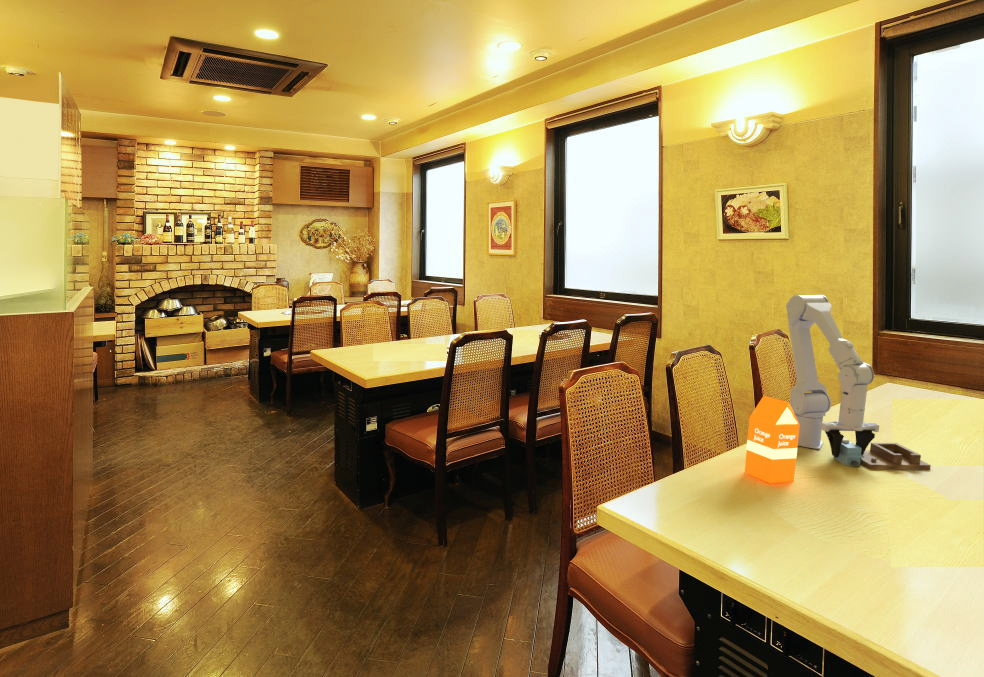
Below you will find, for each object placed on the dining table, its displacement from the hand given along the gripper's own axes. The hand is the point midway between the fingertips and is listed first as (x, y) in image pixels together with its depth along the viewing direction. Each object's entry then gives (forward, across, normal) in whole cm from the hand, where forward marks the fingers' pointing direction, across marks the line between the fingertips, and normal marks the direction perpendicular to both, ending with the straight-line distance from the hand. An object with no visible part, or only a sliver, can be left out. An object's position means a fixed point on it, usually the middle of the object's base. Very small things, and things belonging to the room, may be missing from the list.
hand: (846, 456), depth 163 cm
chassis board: (+1, +11, 0) cm, 11 cm away
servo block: (+2, 0, 0) cm, 2 cm away
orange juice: (+2, -27, -11) cm, 29 cm away
